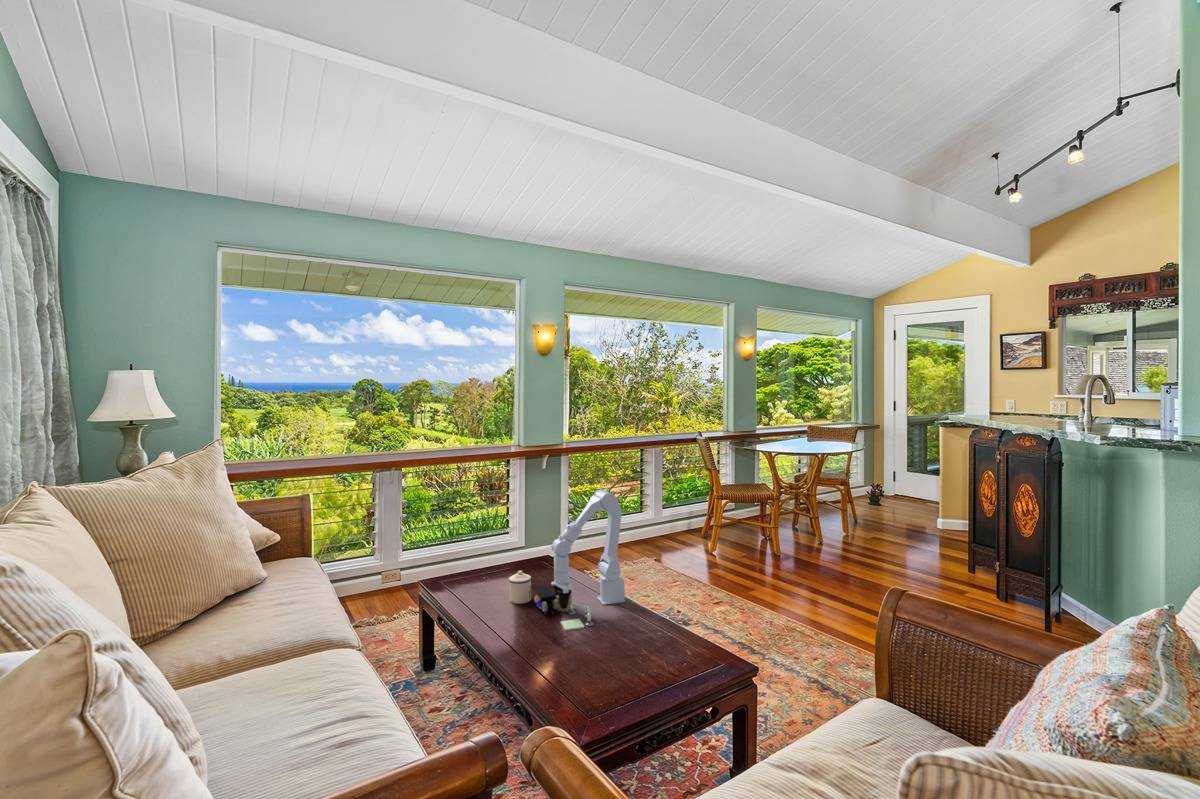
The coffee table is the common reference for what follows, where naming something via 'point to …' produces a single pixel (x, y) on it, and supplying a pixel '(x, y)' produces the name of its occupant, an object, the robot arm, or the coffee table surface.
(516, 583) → the teacup with lid
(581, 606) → the grey piece
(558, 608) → the maple ring
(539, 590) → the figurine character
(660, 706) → the coffee table surface
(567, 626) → the pad
